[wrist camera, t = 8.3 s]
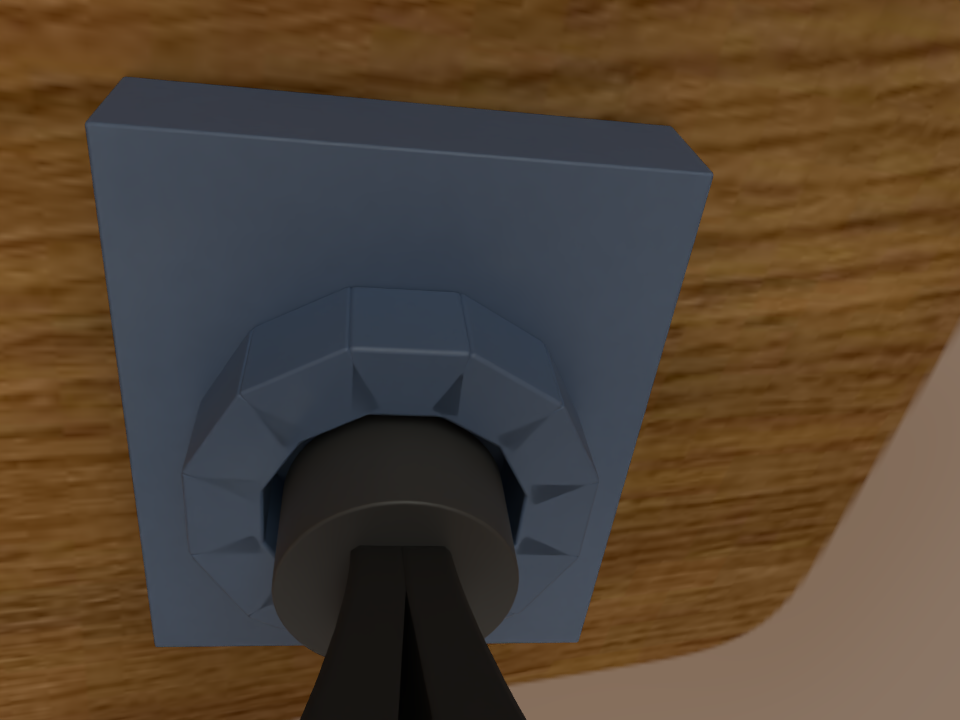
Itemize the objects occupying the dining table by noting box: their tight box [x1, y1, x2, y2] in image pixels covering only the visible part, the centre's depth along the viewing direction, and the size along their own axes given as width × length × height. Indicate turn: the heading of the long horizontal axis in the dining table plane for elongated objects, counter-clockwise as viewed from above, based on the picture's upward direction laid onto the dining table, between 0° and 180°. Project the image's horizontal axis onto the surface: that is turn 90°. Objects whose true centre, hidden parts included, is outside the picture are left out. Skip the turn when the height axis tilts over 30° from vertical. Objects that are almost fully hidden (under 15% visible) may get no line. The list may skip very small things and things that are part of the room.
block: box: [85, 77, 713, 647], centre depth 15 cm, size 11×9×4 cm
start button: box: [271, 415, 519, 657], centre depth 13 cm, size 4×4×2 cm
